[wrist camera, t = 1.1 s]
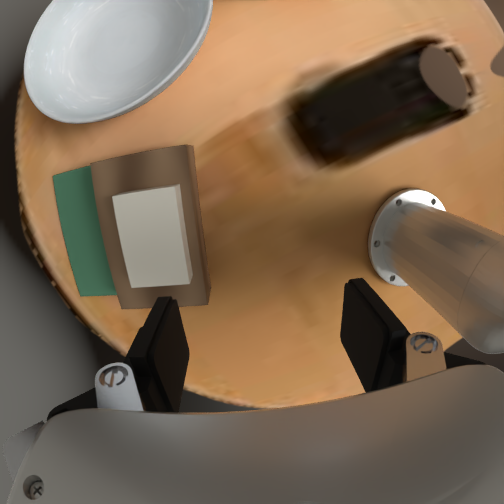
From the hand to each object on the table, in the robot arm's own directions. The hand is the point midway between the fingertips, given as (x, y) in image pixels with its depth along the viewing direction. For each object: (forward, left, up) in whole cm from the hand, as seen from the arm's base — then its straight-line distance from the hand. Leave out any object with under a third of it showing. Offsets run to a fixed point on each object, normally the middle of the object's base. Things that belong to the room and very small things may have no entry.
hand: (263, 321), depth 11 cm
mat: (+19, 0, -20) cm, 27 cm away
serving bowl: (+12, -22, -20) cm, 32 cm away
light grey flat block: (+9, 0, -16) cm, 18 cm away
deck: (+10, 0, -20) cm, 22 cm away
